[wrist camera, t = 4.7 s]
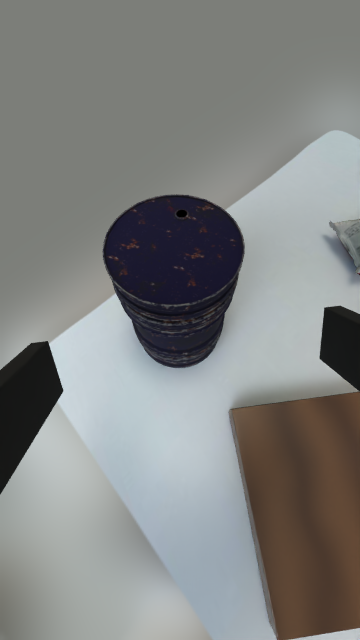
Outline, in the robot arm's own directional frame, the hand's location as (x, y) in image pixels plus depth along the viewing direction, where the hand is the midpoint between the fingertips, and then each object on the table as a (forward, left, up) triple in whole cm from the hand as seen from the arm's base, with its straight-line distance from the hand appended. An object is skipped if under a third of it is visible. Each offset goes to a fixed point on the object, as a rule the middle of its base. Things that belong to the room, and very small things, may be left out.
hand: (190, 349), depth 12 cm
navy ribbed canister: (0, +8, -17) cm, 19 cm away
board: (+14, -10, -17) cm, 24 cm away
